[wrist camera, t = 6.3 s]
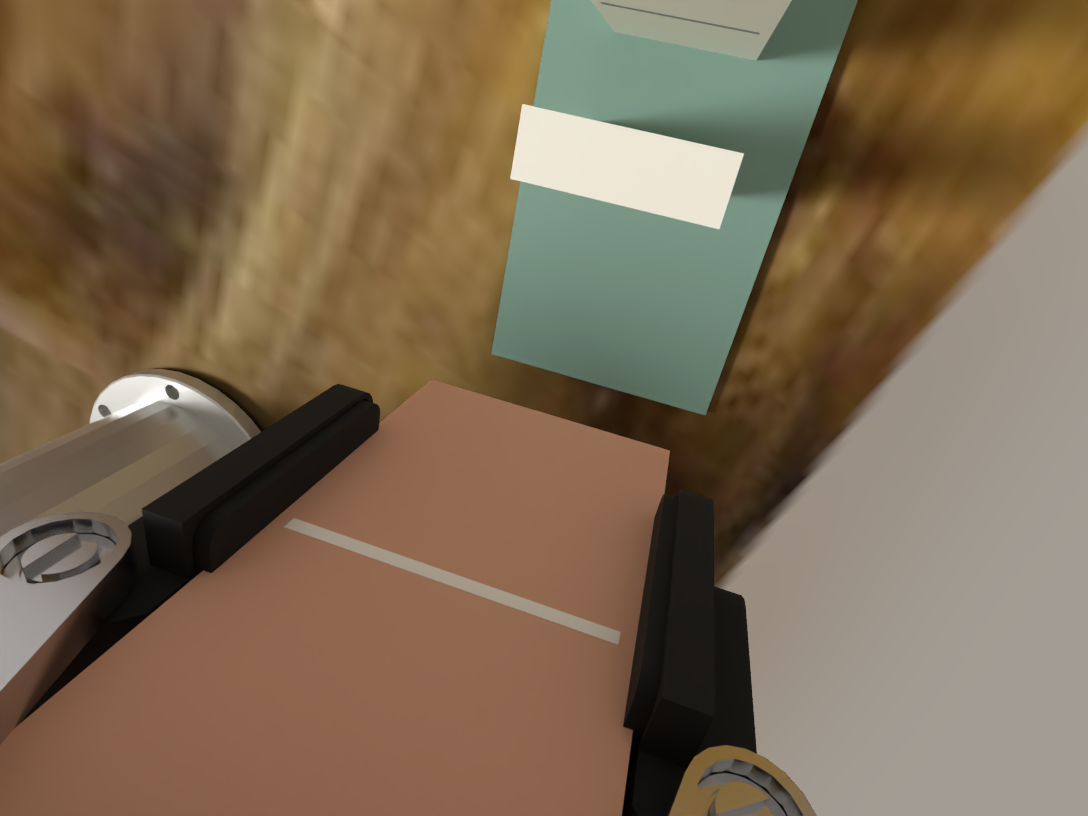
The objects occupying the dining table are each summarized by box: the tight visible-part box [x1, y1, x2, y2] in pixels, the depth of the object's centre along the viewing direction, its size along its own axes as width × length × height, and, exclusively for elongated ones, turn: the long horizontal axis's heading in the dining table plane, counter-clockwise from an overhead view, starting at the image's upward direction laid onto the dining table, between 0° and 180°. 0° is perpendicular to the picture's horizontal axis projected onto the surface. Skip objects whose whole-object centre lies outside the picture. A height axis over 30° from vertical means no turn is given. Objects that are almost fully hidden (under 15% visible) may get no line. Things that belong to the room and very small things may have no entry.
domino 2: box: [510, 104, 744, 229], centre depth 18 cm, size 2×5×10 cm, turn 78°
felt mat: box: [491, 0, 858, 415], centre depth 20 cm, size 27×10×1 cm, turn 168°
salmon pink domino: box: [0, 379, 670, 816], centre depth 8 cm, size 2×5×10 cm, turn 78°
